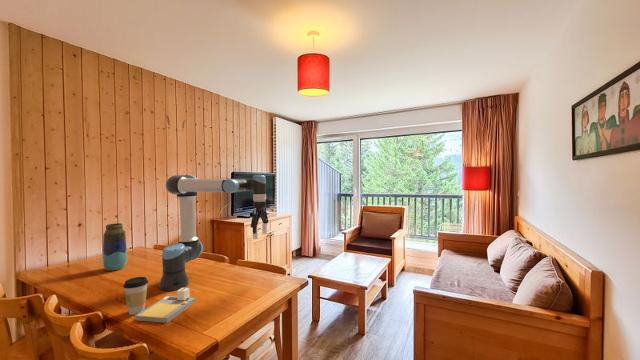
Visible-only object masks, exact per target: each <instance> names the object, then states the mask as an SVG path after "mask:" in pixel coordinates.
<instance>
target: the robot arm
mask: <svg viewBox="0 0 640 360" xmlns="http://www.w3.org/2000/svg"><path fill="white" fill-rule="evenodd" d="M165 188H166V190H167V192H169V193H170V194H172V195H176V198H177V199H178V200H179V214H180V215H179V216H180V217H179V220H180V238H179V239H178V243H173V244H169V245H167V246H165V247H164V248H163V249H162V252H161V258H162V259H161V261H162V262H161V263H162V275H161V278H160V281H159V290H160V291H165V292H166V291H167V292H169V291H178V290H179V289H181V288H186V287H188V285H189V281H190V280H189V277H188V274H187V272H186V264H187V263H189V262H191V261H194V260H196V259H197V258H199V257H200V255H202V253H203V252H204V251H203V250H204V247H203V244H202V242H201V241H200V237H198V236H197V228H196V224H197V223H196V201H195V199H197V197H198V193H227V194H234V193H241V192H252V201H253V202H252V206H253V208H254V210H252V217H251V222H250V228H251V229H252V239H253V240H258V237H259V233H258V231H259V230H258V229H259V228H258V225H259V221H260V220H261V222H262V224H261V227H262V229H261V230H262V231H261V232H262V233H261V234H262V235H267V234H268V227H267V226H268V224H269V217H268V214H267V212H268V211H267V201H266V200H267V179H266V175H253V176H252V178H197V177H196V176H194V175H190V174H189V175H188V174H186V175H185V174H181V175H178V174H177V175H172V176H170V177H169V178H168V179H167V180H166V181H165Z"/></svg>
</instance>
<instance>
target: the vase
mask: <svg viewBox="0 0 640 360" xmlns="http://www.w3.org/2000/svg"><path fill="white" fill-rule="evenodd" d="M123 227H124V226H123V223H118V222H117V223H109V224H106V225H105V231H104V233H103V236H102V257H101V259H102V266H103V268H104V269H105V270H106V271H109V272H113V271H114V270H115V271H118V270H121V269H123V268H125V266H126V265H127V262H128V248H127V238H126V232H125V230H124V228H123Z"/></svg>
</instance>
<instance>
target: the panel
mask: <svg viewBox="0 0 640 360" xmlns="http://www.w3.org/2000/svg"><path fill="white" fill-rule="evenodd" d="M196 300H197V299H196V297H191V296H190V297H189V298H187V299H186V300H177V295H176V296H175V295H173V296H172V295H166V296H164V297H163V298H161V299H160V300H159V301H156V302H155V303H153V304H151V305H150V306H148V307H147V308H146V309H144V311H142V312H140V313H139V314H135V316H134V317H135V321H141V322H143V321H144V322H153V323H164V324H165V323H166V324H168V323H169V322H171V320H173V319H175V318H176V317H177V316H178V315H179V316H180V314H181V313H183V312H184V311H185V310H186V309H188V308H190V307H191V306H192V305H193V304H194V303H196Z"/></svg>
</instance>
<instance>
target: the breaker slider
mask: <svg viewBox="0 0 640 360" xmlns="http://www.w3.org/2000/svg"><path fill="white" fill-rule="evenodd" d="M176 297H177V300H186V299H187V298H189V297H191V296H190V287H183V288H180V289H177V290H176Z"/></svg>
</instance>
